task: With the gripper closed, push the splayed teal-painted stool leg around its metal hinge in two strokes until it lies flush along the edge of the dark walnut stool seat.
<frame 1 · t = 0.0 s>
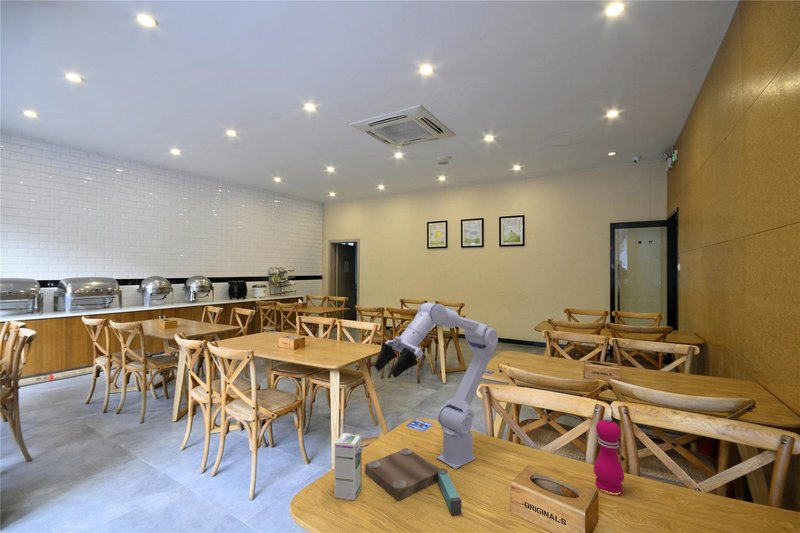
hand: (384, 371, 93), 32 cm above the table, tool tilted 50°, fingers open, 7 cm apart
stool seat: (403, 476, 100), on the table
stool leg: (448, 489, 91), point 2 cm above the table, hinge at 60.0°
pepper mill: (608, 489, 95), on the table
syrup box: (347, 493, 92), on the table
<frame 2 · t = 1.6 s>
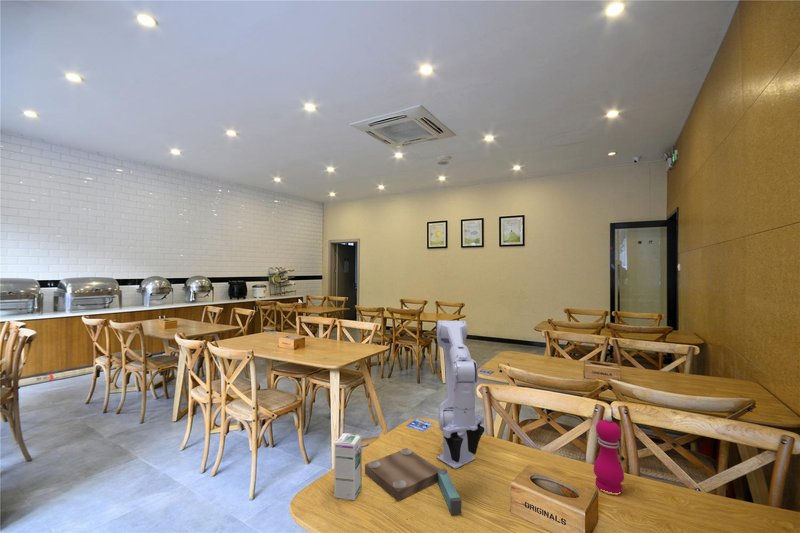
hand: (463, 456, 93), 9 cm above the table, tool pointing down, fingers open, 6 cm apart
nothing on the table moved.
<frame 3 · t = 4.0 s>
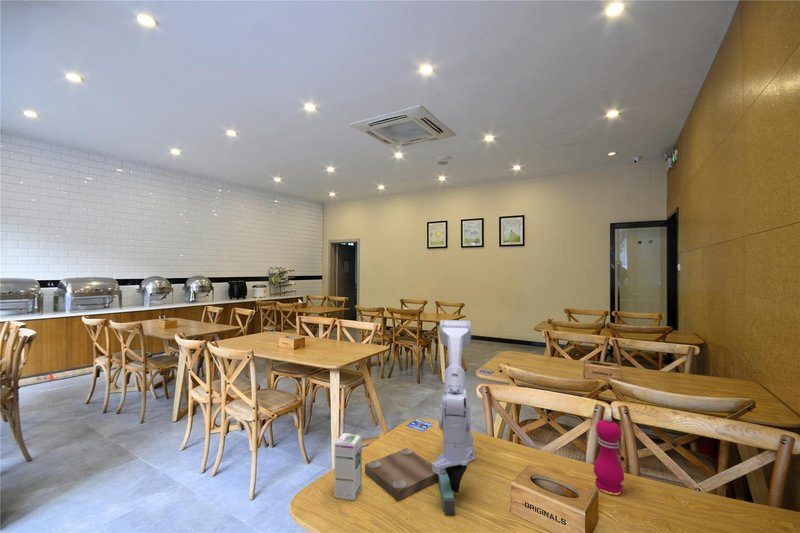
hand: (454, 490, 91), 2 cm above the table, tool pointing down, fingers closed, pressing on stool leg
stool leg: (445, 489, 91), point 2 cm above the table, hinge at 52.5°, touching gripper
everything else where it was.
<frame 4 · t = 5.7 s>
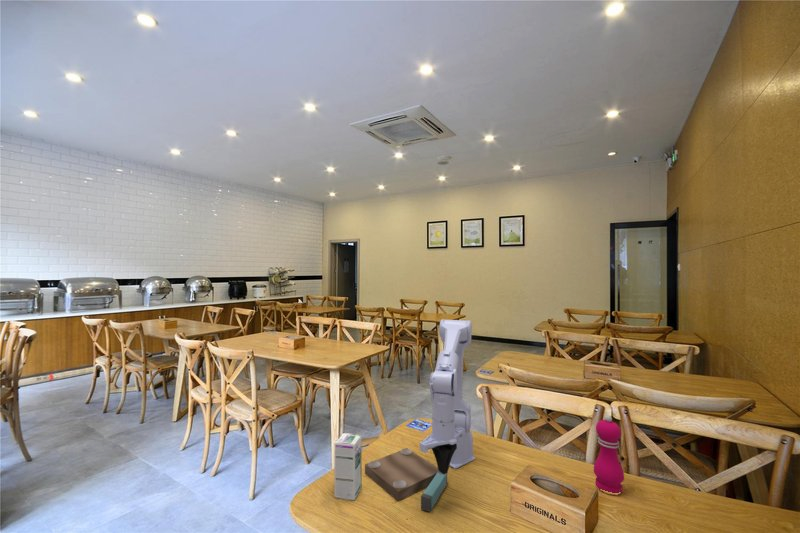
hand: (443, 471, 88), 8 cm above the table, tool pointing down, fingers closed
stool leg: (435, 488, 91), point 2 cm above the table, hinge at 25.4°
everything else where it was.
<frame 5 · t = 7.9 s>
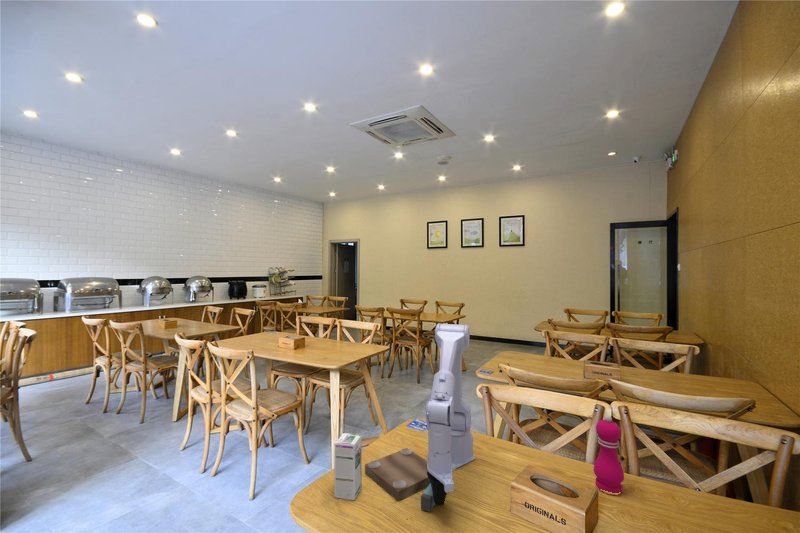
hand: (439, 503, 86), 2 cm above the table, tool pointing down, fingers closed
stool leg: (435, 488, 91), point 2 cm above the table, hinge at 25.4°, touching gripper
everything else where it was.
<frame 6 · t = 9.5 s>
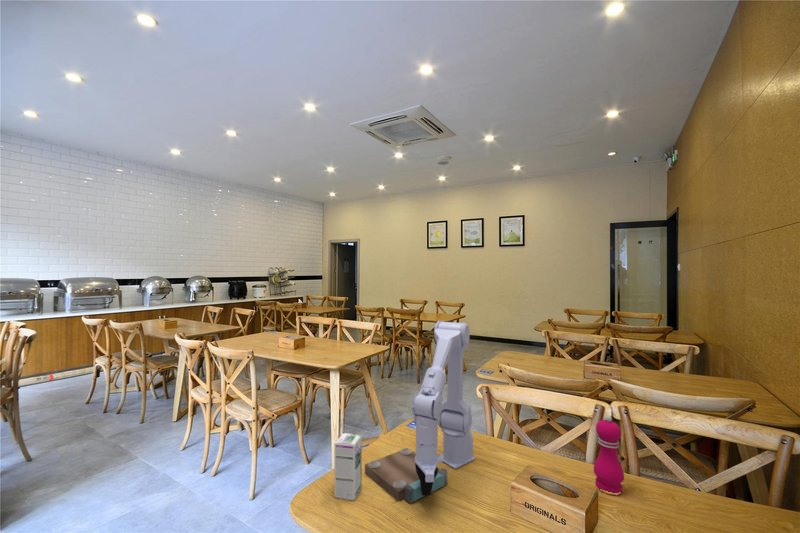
hand: (426, 494, 89), 2 cm above the table, tool pointing down, fingers closed
stool leg: (427, 484, 93), point 2 cm above the table, hinge at -0.1°, touching gripper
everything else where it was.
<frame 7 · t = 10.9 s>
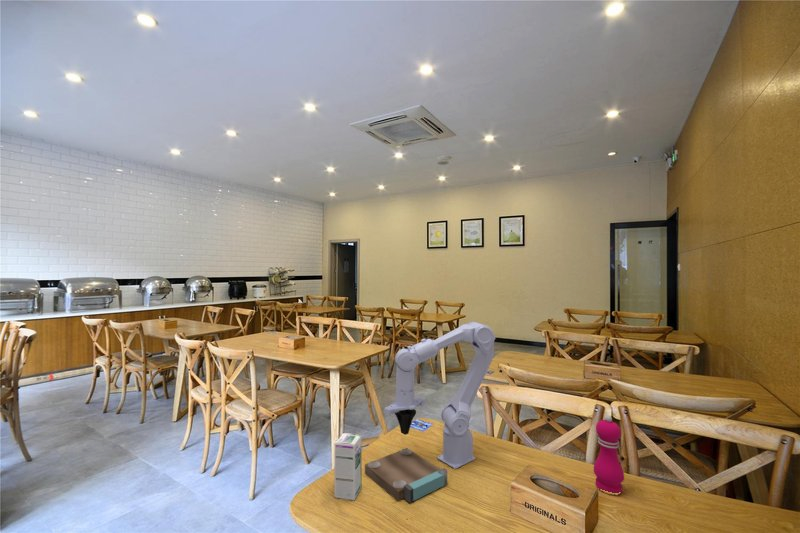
hand: (404, 433, 107), 9 cm above the table, tool pointing down, fingers closed
stool leg: (427, 484, 93), point 2 cm above the table, hinge at -1.1°
everything else where it was.
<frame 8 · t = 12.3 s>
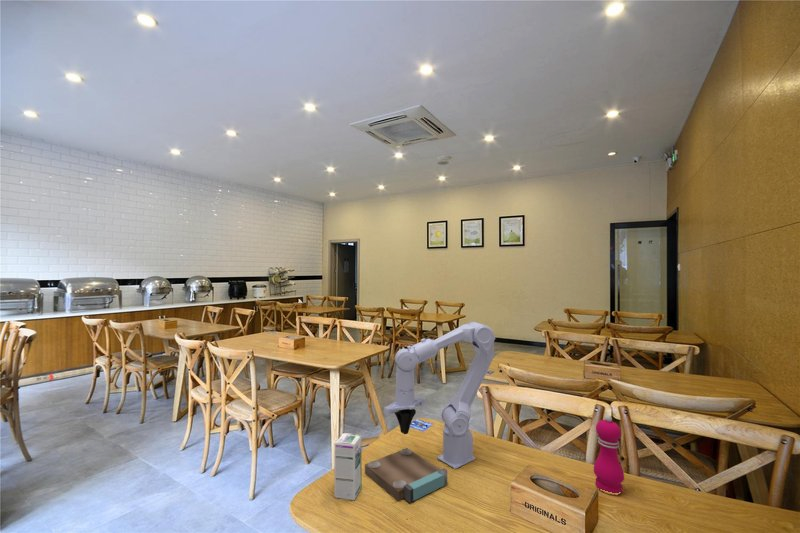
hand: (404, 432, 107), 9 cm above the table, tool pointing down, fingers closed
nothing on the table moved.
at the end: stool leg at -1° (first picture: +60°); syrup box moved 0.2 cm from its start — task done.
